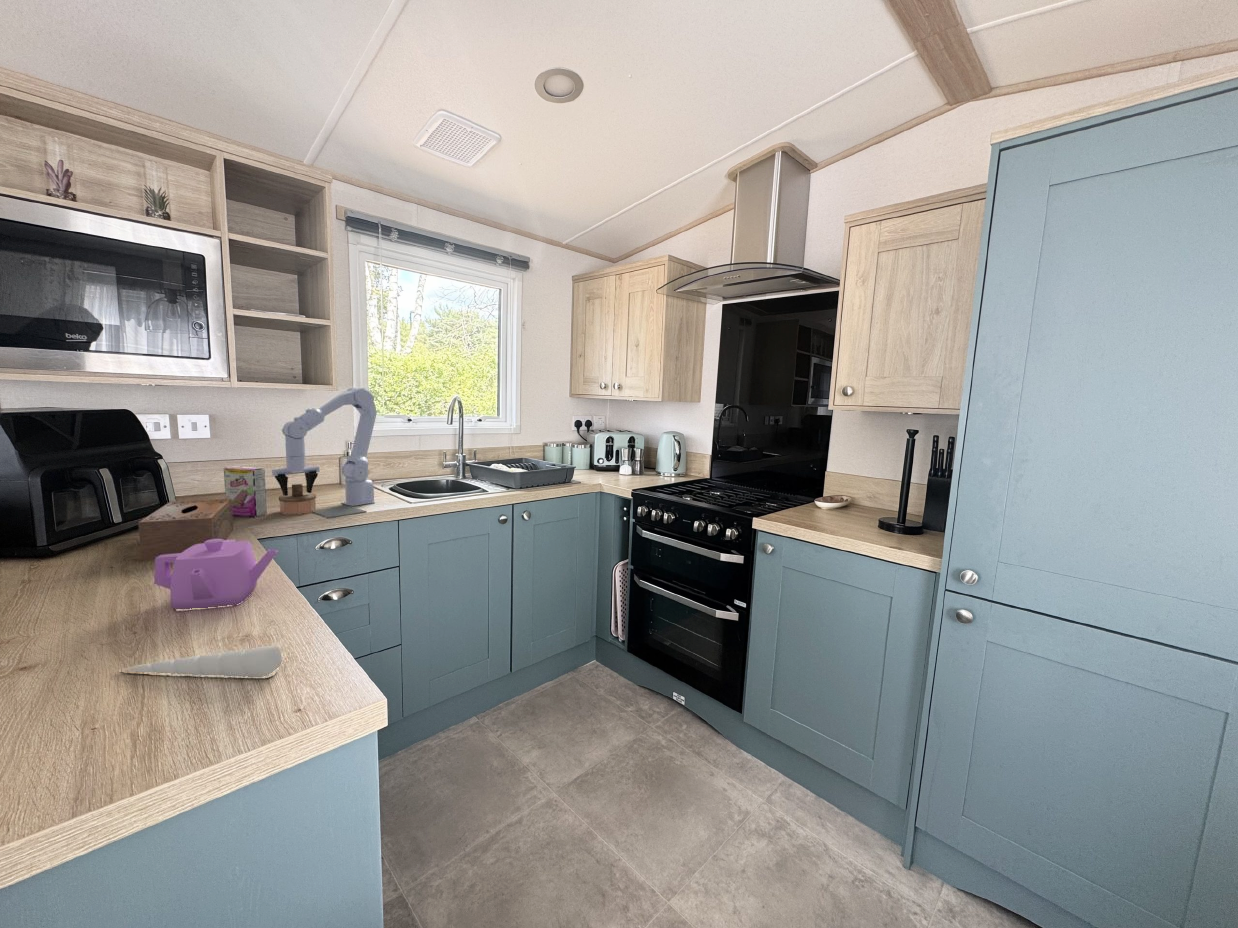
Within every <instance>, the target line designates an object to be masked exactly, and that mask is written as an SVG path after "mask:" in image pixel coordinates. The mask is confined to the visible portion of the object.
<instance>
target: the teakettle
mask: <svg viewBox="0 0 1238 928" xmlns="http://www.w3.org/2000/svg"><path fill="white" fill-rule="evenodd" d="M278 552H279V550H275V549H268V550H266V553H265V554H264V555H263V556H262V557H261V558H260V559H259V560H258V561H257V562H256V557H255V554H254V551H253V547H252V544H251V542H250V541H249V540H237V539H226V540H223V539H211V540H207V541H205V542H204V543H202V544H196V545H193V546H191V547H190V548H188V549H186V550H185V551H183V552H182V553H176V554H165V555H160V556H158V557H156V558H155V560H154V575H153V576H154V578H153V579H154V582H153V583H154V585H156V586H158V587H159V586H160V587H163V588H165V589H167V590H168V589H169V590H170V591H169V593H170V594H169V595H170V596H169V598H170V599H169V600H170V604H171V607H172V609H173V610H174V609H190V608H191V609H192V608H208V607H218V606H227V605H237V604H239V603H241V602H242V601H244V600H245V599H246V598H247V597H248V596H249V595H250V594H251V593H252V592H253V593H254V591H255V589H256V586H257V583H258V580H259V578H260V577H261V575H262V574H263V573H264V571H265V570H266V569H267V568H268V566H269V565H270V564H271V562H272V561H273V559H274V557H275V556H276V555H277V554H278ZM171 563H173V567H172V568H171ZM171 569H172V570H171ZM253 590H254V591H253ZM253 593H252V594H253ZM252 594H251V595H252ZM251 595H250V596H251ZM250 596H249V597H250ZM249 597H248V598H249ZM248 598H247V599H248ZM247 599H246V600H247ZM246 600H245V601H246ZM245 601H244V602H245Z"/></svg>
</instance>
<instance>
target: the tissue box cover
mask: <svg viewBox="0 0 1238 928" xmlns="http://www.w3.org/2000/svg"><path fill="white" fill-rule="evenodd" d="M233 517H234V516H233V513H232V499H226V498H221V499H220V498H219V499H201V500H199V499H198V500H180V501H179V500H178V501H177V500H176V501H169V502H167V503H166V504H165V505H163V506H161V507H160V508H158V509H157V510H155V511H154V512H152V513H150V514H149V515H147V516H146V517H145V518H143V519H141V520H140V521H138V524H137V526H138V533H139V535H138V536H139V537H138V538H139V547H140V556H141V557H140V559H141V560H140V561H141V562H142V561H153V560H154V559H155V558H156V557H158V556H160V555H165V554H176V553H182V552H183V551H185V550H186V549H188V548H190V547H191V546H193V545H196V544H202V543H204V542H205V541H207V540H211V539H223V540H228V538H229V536H231V534H232V533H234V518H233ZM154 561H155V560H154Z"/></svg>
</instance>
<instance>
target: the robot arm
mask: <svg viewBox="0 0 1238 928" xmlns="http://www.w3.org/2000/svg"><path fill="white" fill-rule="evenodd" d="M348 405H350V406H351V405H352V406H353V407H354V408H355V409H356V410H357V412H359V414H360V415H359V421H358V424H357V429H356V432H355V436H354V441H353V443H352V448H351V453H350V454H349V456H348V457H347V458H346V461H345V463H344V464H343V466H342V468H341V474H342V475H343V477H345V478H344V489H345V490H344V491H345V493H344V494H345V496H344V497H345V501H343V500H342V501H340V503H341V504H344V505H345V506H352V507H355V506H360V505H367V504H368V505H369V504H374V503H376V501H375V489H374V488H375V487H374V483H373V481H372V480H371V479H368V476H369V472H370V471H369V459H368V458H367V456H368V451H369V447H370V443H371V438H372V435H373V431H374V426H375V423H376V419H377V412H378V411H377V408H376V404H375V395H374V394H373V393H372V392H371V391H370V390H369V389H368V388H364V387H361V388H359V387H358V388H356V387H349V388H348V389H347V390H344V391H342V392H340V393H339V394H338V395H336V396H334V397H333V398H332V399H331V400H329V401H328V402H326V403H324V404H323V405H322V406H320V407H319V408H306V410H305V412H304V413H302V414H300V415H299V416H298V417H297V416H295V417H294V418H293V421H292V420H290V421H287V422H285V423H284V425H283V427H282V429H281V431H282V434H283V435H284V437H285V438H284V439H285V440H284V441H285V462H286V464H285V465H286V467H283V468H277V469H272V470H271V475H272V476H273V477H274V479H276V481H277V483H278V485H279V487H280V489H281V492H282V495H284V496H288V494H289V491H288V483H289V477H288V476H287V475H295V474H304V476H305V484H306V493H312V490H313V488H314V487H313V486H314V483H315V481H316V480H317V477H318V474H319V473H320V466H318V465H311V466H306V464H307V463H306V444H305V443H306V442H305V437H306V435H307V434H308V432H309V431H311V430H313V429H314V428H316V427H317V426H319V425H321V424H322V423H324V421H325V418H326V416H328V415H330V414H331V413H333V412H335V411H336V410H338V409H340V408H342V407H343V406H348Z"/></svg>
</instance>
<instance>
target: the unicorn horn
mask: <svg viewBox="0 0 1238 928" xmlns="http://www.w3.org/2000/svg"><path fill="white" fill-rule="evenodd" d="M282 658H283V656H282V651H281V649H280V648H279V647H278V646H276V645H267V646H259V647H252V648H248V649H236V650H232V651H231V650H229V651H224V652H217V653H216V652H215V653H209V654H200V655H199V656H198V655H196V656H195V655H194V656H193V655H192V656H188V657H182V658H176V659H175V658H174V659H173V658H172V659H169V660H162V661H156V662H152V664H151V663H144V664H139V665H132V666H130V667H128V668H130V670H131V671H138V672H151V671H153V672H157V673H171V674H175V673H177V674H192V675H199V674H201V675H224V676H225V675H226V676H243V677H245V676H248V677H263V676H267V675H269V674H270V673H272V672H273V671H274V670H275V669H277V668H278V667H279V666H280V665H282V661H283V659H282ZM280 667H281V666H280ZM128 668H127V667H124V668H122V669H123V670H128Z"/></svg>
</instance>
